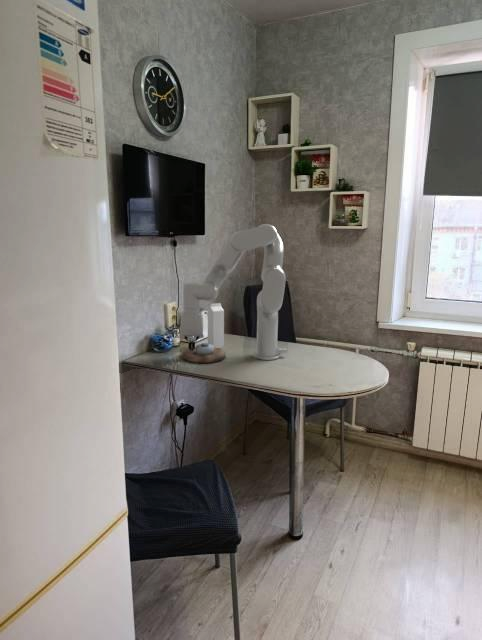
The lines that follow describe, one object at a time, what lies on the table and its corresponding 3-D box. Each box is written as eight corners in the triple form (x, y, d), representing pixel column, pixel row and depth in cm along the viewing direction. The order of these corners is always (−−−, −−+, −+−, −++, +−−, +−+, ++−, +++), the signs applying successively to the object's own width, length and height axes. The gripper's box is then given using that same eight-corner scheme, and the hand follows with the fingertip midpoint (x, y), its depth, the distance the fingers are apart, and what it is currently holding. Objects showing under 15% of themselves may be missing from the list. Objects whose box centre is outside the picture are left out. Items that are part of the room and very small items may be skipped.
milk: (207, 346, 217) (207, 303, 212) (218, 344, 220) (218, 302, 215) (213, 349, 212) (213, 304, 207) (224, 347, 215) (224, 303, 210)
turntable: (224, 349, 209) (224, 346, 209) (227, 362, 190) (227, 358, 190) (182, 350, 208) (182, 347, 207) (181, 362, 188) (180, 359, 188)
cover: (213, 349, 203) (213, 341, 202) (214, 354, 195) (214, 346, 194) (195, 350, 202) (195, 342, 201) (196, 355, 194) (196, 346, 193)
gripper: (208, 309, 198) (208, 348, 202) (175, 309, 197) (175, 348, 201) (208, 312, 191) (208, 352, 195) (174, 312, 189) (174, 352, 193)
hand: (191, 350), depth 198 cm, fingers closed
